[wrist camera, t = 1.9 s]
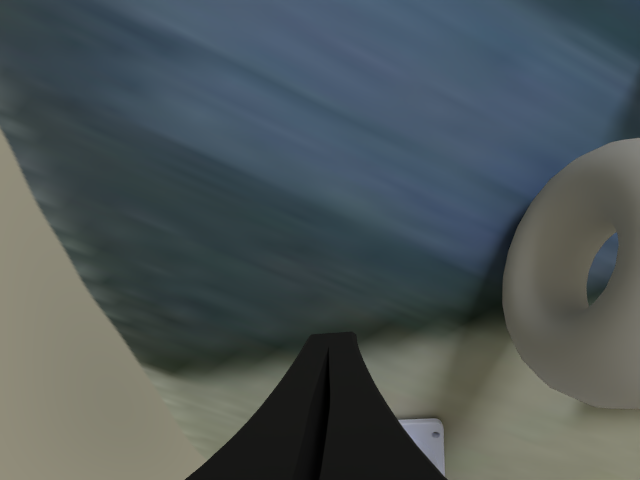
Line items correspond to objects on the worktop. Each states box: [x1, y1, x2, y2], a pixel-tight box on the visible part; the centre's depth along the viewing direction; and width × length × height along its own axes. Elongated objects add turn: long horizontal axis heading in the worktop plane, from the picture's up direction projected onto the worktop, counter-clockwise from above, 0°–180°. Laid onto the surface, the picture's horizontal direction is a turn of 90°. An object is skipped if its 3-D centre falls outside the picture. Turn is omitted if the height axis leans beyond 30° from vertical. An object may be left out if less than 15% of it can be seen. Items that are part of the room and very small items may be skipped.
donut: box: [502, 138, 640, 409], centre depth 14 cm, size 10×4×10 cm, turn 166°
